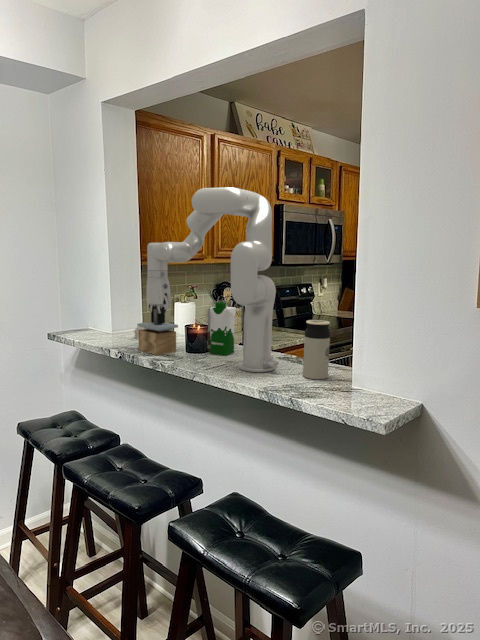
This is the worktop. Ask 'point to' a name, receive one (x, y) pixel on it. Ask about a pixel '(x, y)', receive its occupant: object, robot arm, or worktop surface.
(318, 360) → the travel mug
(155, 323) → the lid
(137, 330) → the architectural model
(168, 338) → the box
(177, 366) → the worktop surface
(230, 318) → the milk carton
